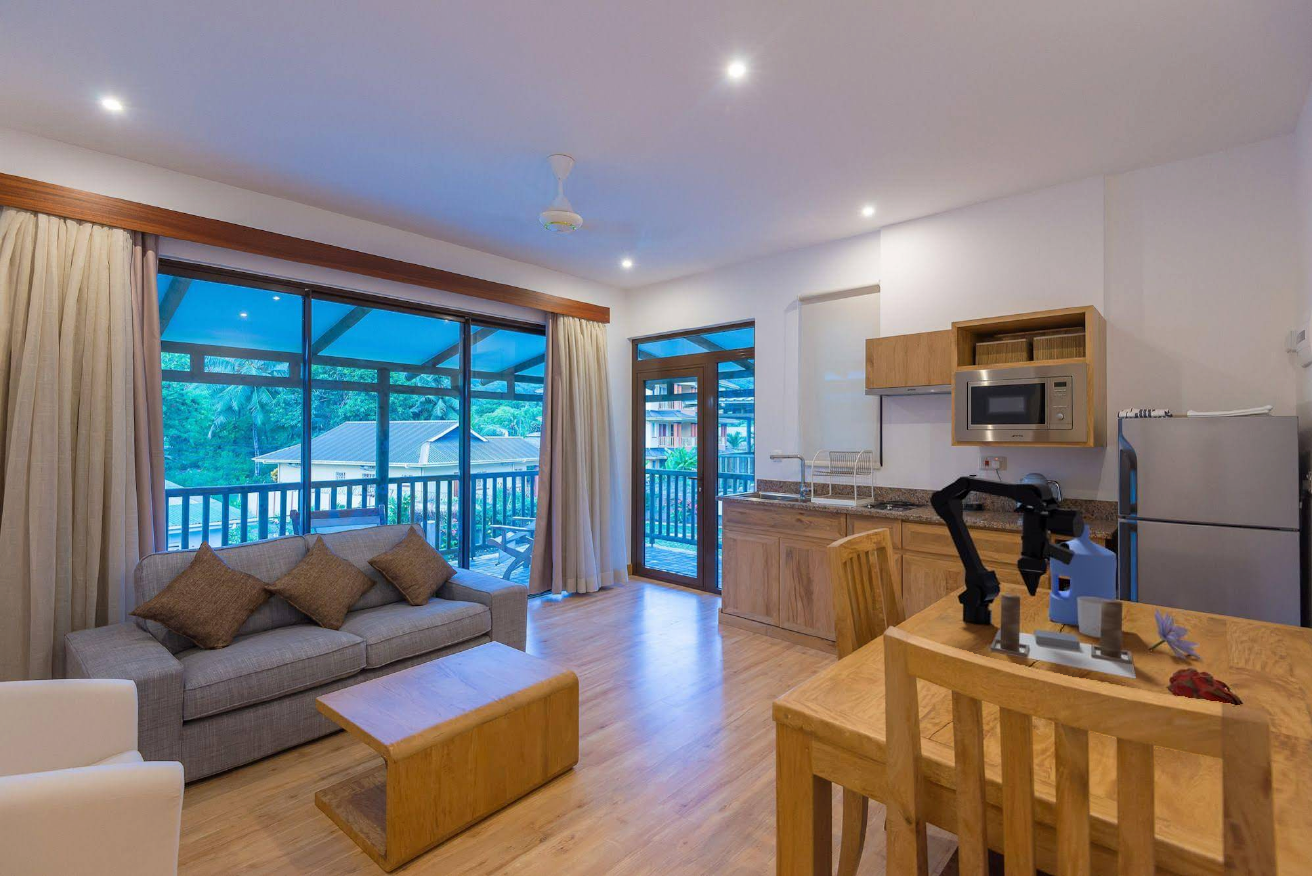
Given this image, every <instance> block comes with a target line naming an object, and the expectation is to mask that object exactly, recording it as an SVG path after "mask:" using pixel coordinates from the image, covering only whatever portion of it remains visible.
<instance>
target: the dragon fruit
mask: <svg viewBox="0 0 1312 876" xmlns="http://www.w3.org/2000/svg"><path fill="white" fill-rule="evenodd" d="M1166 689H1167V690H1168V692H1170V693H1171V694H1172V695H1173V696H1175V695H1177V696H1185V697H1188V698H1196V699H1206V700H1210V701H1219V702H1223V703H1231V704H1234V706H1237V705H1240V706H1242V705H1244V703H1243V701H1242V699H1241V698H1240V697H1239V696H1238V695H1236V694H1235V693H1233V692H1232V691H1231V687H1229V686H1228V685H1227V684H1226V683H1225V682H1224V681H1222V680H1219V679H1216V678H1215V679H1214V676H1213V675H1212V674H1210V673H1208V672H1206V671H1201V672H1199V671H1198V670H1197V668H1192V667H1188V668H1186V669H1185V668H1180V669H1178V670H1177V671H1176V672H1174V673H1173V674H1172V675H1171V676H1170V677H1169V685H1168V686H1166ZM1177 696H1176V697H1177ZM1246 705H1247V704H1245V706H1246Z"/></svg>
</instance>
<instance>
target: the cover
mask: <svg viewBox="0 0 1312 876" xmlns="http://www.w3.org/2000/svg"><path fill="white" fill-rule="evenodd" d="M1033 635H1034V639H1035V642H1036V644H1041V645H1048V646H1055V647H1062V648H1069V649H1075V650H1080V643H1081V641H1080V640H1079V638H1078V636H1077V634H1074V633H1066V632H1058V631H1052V630H1043V629H1036V628H1034V629H1033Z"/></svg>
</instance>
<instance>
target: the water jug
mask: <svg viewBox="0 0 1312 876" xmlns="http://www.w3.org/2000/svg"><path fill="white" fill-rule="evenodd" d="M1090 527H1091V526H1090V525H1087V524H1085V527H1084V532H1083V534H1082V536H1081V537H1080V538H1076V537H1074V539H1072V540H1068V541H1064V542H1065V543H1067V544H1069V547H1070V550H1073V551H1074V552H1075V554H1074V556H1073V558H1072V561H1071V563H1070V565H1066V564H1064V563H1063V562H1061V561H1059V560H1056V559H1054V558H1051V557H1050V561H1049V562H1050V563H1049V572H1051V581H1050V582H1051V588H1050V589H1051V590H1050V591H1051V592H1050V593H1049V608H1048V617H1049V619H1050V620H1051V621H1052V622H1054V623H1056V624H1064V625H1071V626H1078V627H1079V625H1078V609H1077V597H1081V596H1089V597H1097V598H1103V599H1111V600H1117V589H1116V588H1117V587H1116V584H1117V583H1116V582H1117V581H1116V580H1117V576H1116V575H1117V565H1118V564H1117V554H1116V553H1115V552H1113V551H1112V550H1109V549H1108V548H1106V547H1104V546H1102V545H1100V544H1098V543H1095V542H1094V541H1092V540H1091V539H1090V533H1091V532H1090ZM1059 576H1062V577H1068V578H1070V580H1069V582H1070V584H1069V589H1068V590H1063V591H1062V590H1059V588H1060V587H1059V584H1060V583H1059V580H1060V579H1059V578H1060V577H1059Z"/></svg>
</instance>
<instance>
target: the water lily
mask: <svg viewBox="0 0 1312 876" xmlns="http://www.w3.org/2000/svg"><path fill="white" fill-rule="evenodd" d="M1154 617H1155V618H1154V619H1155V622H1156V625H1157V628H1158V629H1157V634H1158V636H1159V639H1161V641H1159V642H1157V643H1156V644H1153V646H1151V647H1150V648H1149V650H1150V651H1151V650H1152V651H1154V650H1156V649H1157V648H1158V647H1159V646H1160V645H1162V644H1164V643H1167V645H1168V647H1169V648H1170V650H1172V651H1173V652H1174V654H1175V655H1176V656H1178V657H1179V658H1180V659H1187V657H1186V656H1185V655H1184V654H1183V653H1185V654H1188V655H1190V656H1192V657H1194V658H1197V659H1200V660H1201V661H1202V660H1203V661H1204V660H1205V659H1204V658H1203V657H1201V656H1200V655H1199V654H1197V653H1195V652H1197V651H1196V650H1195V649H1194V648H1193V647H1200V644H1199V643H1196V642H1194V641H1190V640H1185V639H1184V637H1185V636H1186V635H1187V634H1188V628H1185V627H1182V626H1179V625H1174V623H1175V621H1174V620H1175V619H1174V616H1171V617H1170V614H1169V612H1166V613H1165V614H1164V617H1163V616H1162V613H1161V612H1160V611H1159V609H1158V608H1155V613H1154ZM1152 651H1151V652H1152ZM1181 651H1182V652H1183V653H1182V652H1181Z"/></svg>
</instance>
